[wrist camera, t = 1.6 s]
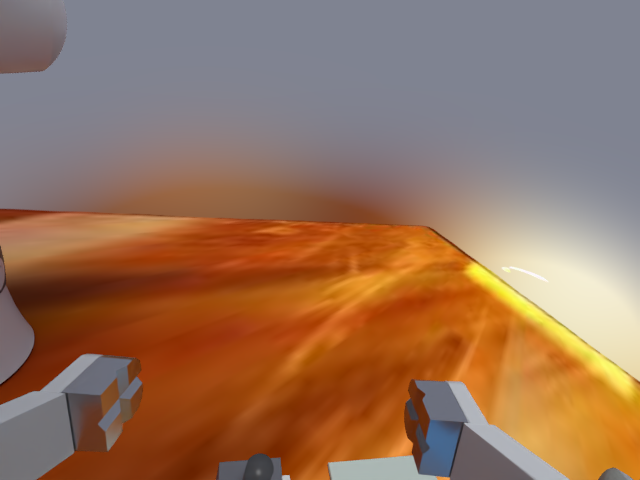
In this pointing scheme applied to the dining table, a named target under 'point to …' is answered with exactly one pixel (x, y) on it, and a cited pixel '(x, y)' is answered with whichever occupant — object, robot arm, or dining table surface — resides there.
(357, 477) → the mat
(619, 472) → the digital clock
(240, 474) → the plug
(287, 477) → the socket block
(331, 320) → the dining table surface
